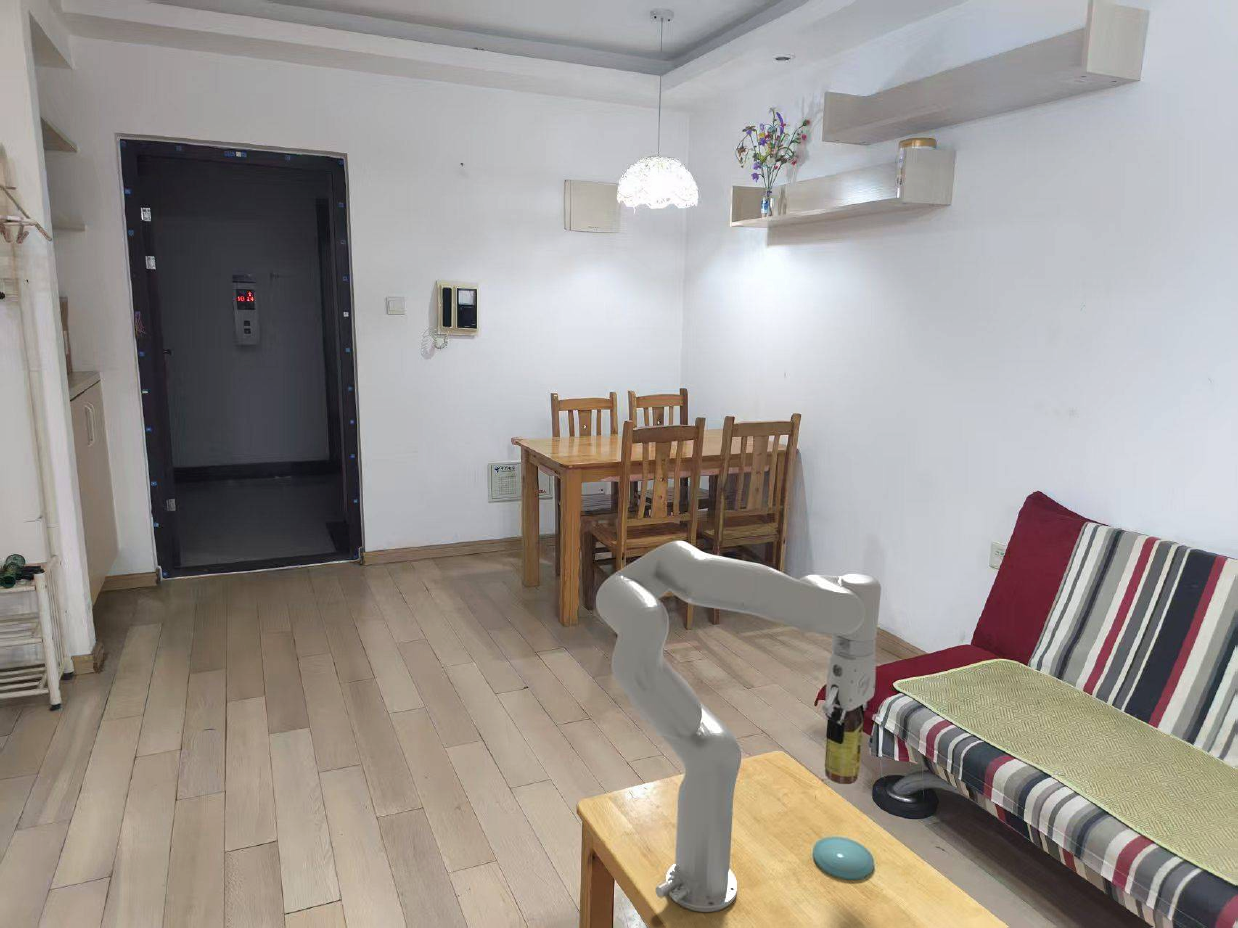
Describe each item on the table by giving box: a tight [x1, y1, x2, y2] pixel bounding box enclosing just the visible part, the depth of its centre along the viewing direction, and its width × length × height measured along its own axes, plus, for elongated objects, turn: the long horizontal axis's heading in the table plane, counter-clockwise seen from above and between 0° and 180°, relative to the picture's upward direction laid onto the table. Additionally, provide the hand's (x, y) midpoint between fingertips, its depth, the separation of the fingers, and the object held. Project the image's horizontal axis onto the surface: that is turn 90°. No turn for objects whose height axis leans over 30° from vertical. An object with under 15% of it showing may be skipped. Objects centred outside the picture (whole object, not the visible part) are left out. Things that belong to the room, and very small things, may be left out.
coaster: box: [812, 836, 875, 881], centre depth 151 cm, size 11×11×1 cm
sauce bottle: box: [824, 700, 864, 785], centre depth 149 cm, size 7×6×20 cm
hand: (844, 733), depth 149 cm, fingers closed on sauce bottle, 6 cm apart
